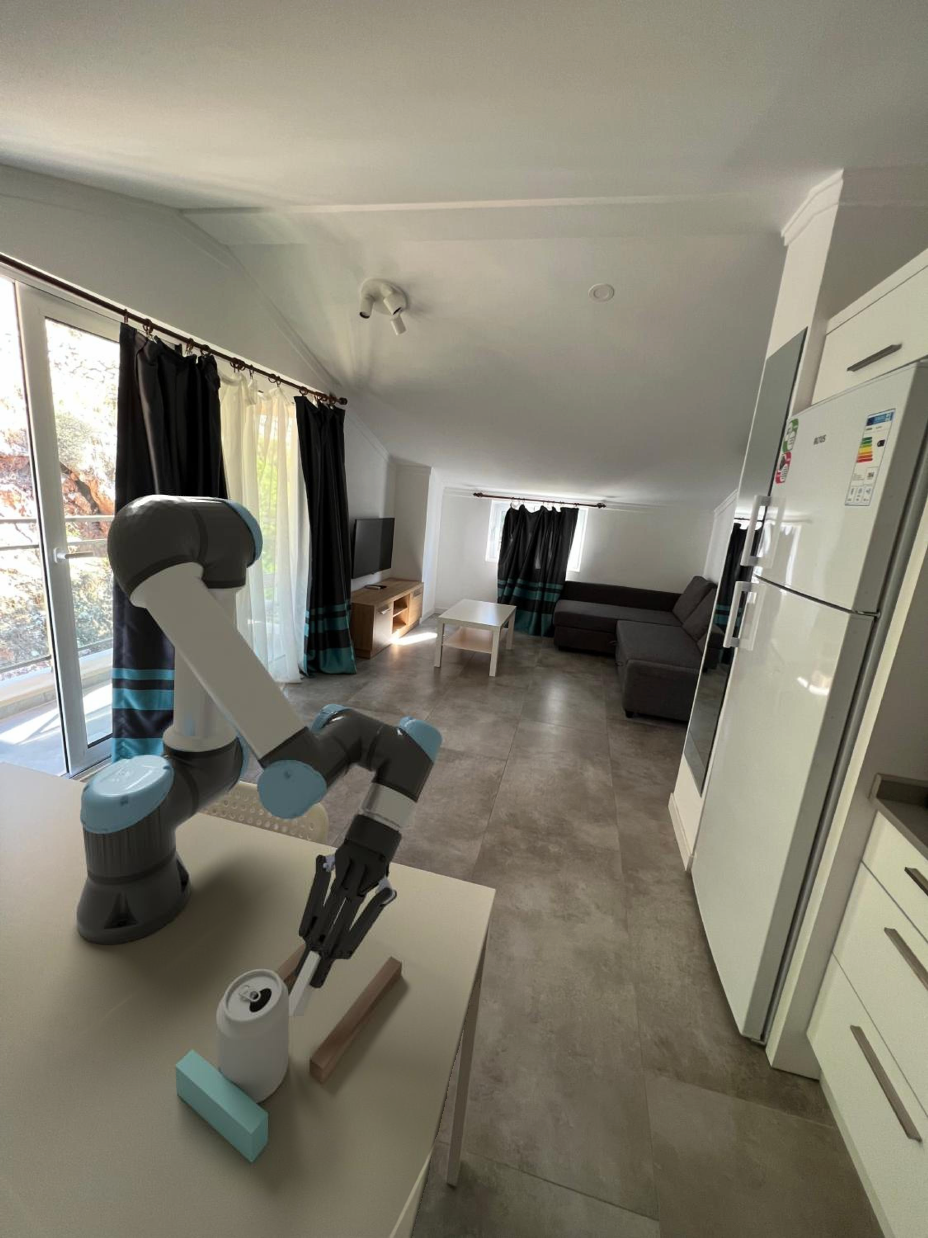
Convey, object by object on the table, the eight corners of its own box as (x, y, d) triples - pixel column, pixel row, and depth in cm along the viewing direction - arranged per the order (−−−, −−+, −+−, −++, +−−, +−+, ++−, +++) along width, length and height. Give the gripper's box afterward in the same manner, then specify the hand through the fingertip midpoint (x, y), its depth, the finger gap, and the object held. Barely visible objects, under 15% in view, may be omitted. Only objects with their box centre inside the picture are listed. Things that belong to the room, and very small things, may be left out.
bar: (176, 1093, 55) (175, 1066, 54) (193, 1076, 57) (192, 1049, 56) (251, 1163, 50) (251, 1134, 49) (267, 1142, 52) (267, 1113, 51)
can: (259, 1125, 53) (258, 1037, 51) (203, 1097, 56) (199, 1011, 53) (301, 1054, 61) (302, 974, 58) (249, 1032, 63) (248, 953, 60)
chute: (239, 1021, 64) (239, 1006, 63) (327, 932, 78) (327, 920, 77) (322, 1085, 58) (322, 1069, 57) (401, 976, 72) (402, 963, 71)
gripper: (427, 844, 72) (348, 1039, 61) (355, 813, 77) (272, 987, 67) (408, 832, 66) (318, 1044, 55) (333, 800, 72) (237, 987, 61)
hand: (292, 1013), depth 61 cm, fingers closed
